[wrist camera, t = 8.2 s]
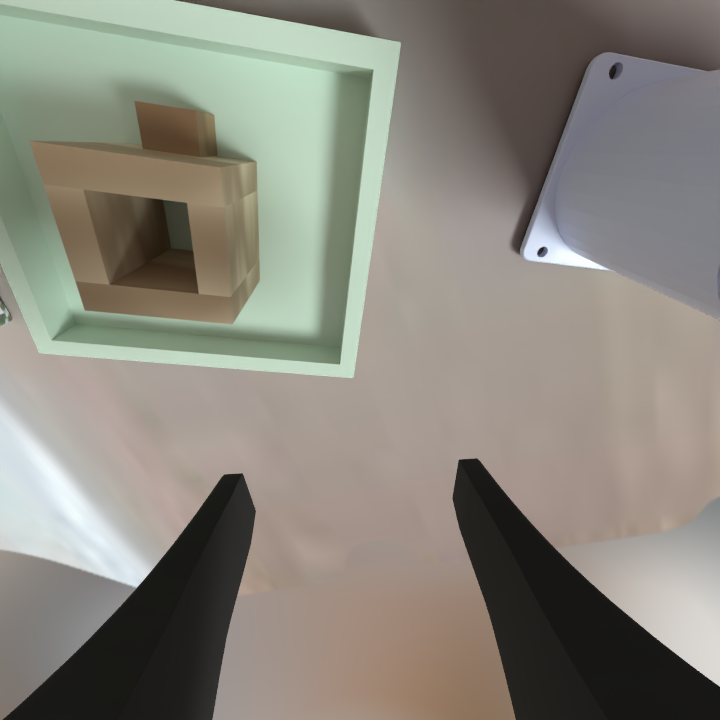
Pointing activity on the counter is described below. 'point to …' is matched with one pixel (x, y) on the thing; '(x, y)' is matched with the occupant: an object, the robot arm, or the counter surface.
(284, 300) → the tray
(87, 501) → the counter surface
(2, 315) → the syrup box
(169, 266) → the tan wooden hollow block
